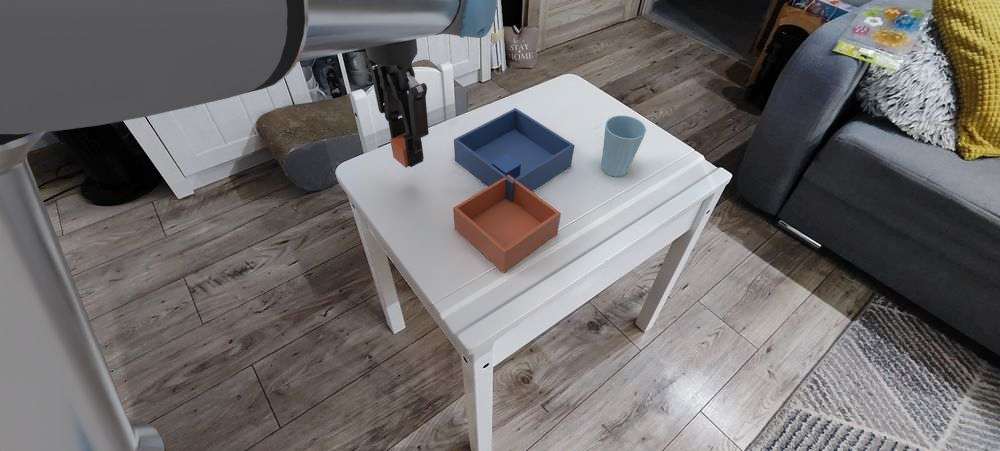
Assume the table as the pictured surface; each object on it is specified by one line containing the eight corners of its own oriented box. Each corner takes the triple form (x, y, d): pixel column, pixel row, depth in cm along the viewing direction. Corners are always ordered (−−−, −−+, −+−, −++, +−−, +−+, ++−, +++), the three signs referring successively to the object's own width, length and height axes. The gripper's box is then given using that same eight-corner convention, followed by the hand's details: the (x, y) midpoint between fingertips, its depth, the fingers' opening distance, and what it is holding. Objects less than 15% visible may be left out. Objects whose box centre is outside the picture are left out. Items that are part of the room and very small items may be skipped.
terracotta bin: (503, 273, 76) (504, 252, 72) (454, 228, 83) (452, 207, 79) (557, 234, 82) (561, 213, 78) (507, 195, 89) (508, 174, 85)
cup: (641, 171, 94) (654, 130, 87) (614, 185, 91) (625, 143, 84) (615, 152, 99) (626, 111, 91) (588, 165, 96) (597, 123, 88)
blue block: (505, 188, 89) (505, 173, 86) (491, 178, 91) (491, 162, 88) (519, 179, 91) (521, 164, 88) (506, 169, 93) (506, 154, 90)
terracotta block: (405, 168, 81) (402, 150, 78) (393, 157, 83) (389, 139, 80) (424, 158, 83) (421, 141, 80) (411, 148, 85) (408, 130, 82)
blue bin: (511, 204, 87) (512, 183, 83) (454, 160, 96) (453, 139, 91) (571, 166, 95) (574, 145, 91) (514, 128, 103) (515, 107, 99)
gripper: (445, 42, 64) (453, 171, 81) (379, 4, 72) (399, 128, 89) (400, 59, 60) (418, 190, 77) (336, 16, 68) (365, 143, 86)
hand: (408, 156), depth 83 cm, fingers closed on terracotta block, 4 cm apart
